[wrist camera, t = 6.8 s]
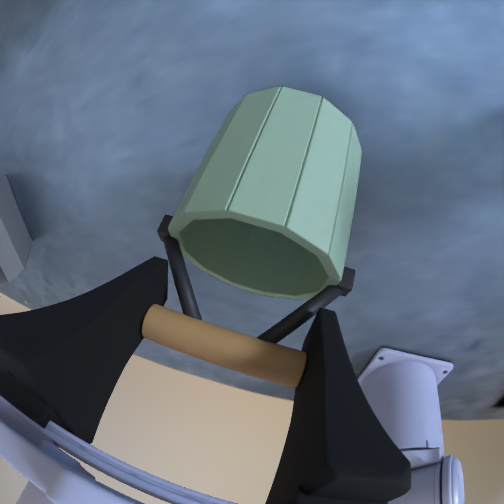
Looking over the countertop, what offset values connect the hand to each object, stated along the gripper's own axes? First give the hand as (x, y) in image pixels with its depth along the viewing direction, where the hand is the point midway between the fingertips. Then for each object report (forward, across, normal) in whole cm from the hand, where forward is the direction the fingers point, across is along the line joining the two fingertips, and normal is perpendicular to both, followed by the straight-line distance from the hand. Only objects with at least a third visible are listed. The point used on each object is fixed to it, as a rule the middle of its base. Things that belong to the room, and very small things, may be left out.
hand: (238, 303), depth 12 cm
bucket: (+7, 0, -5) cm, 9 cm away
